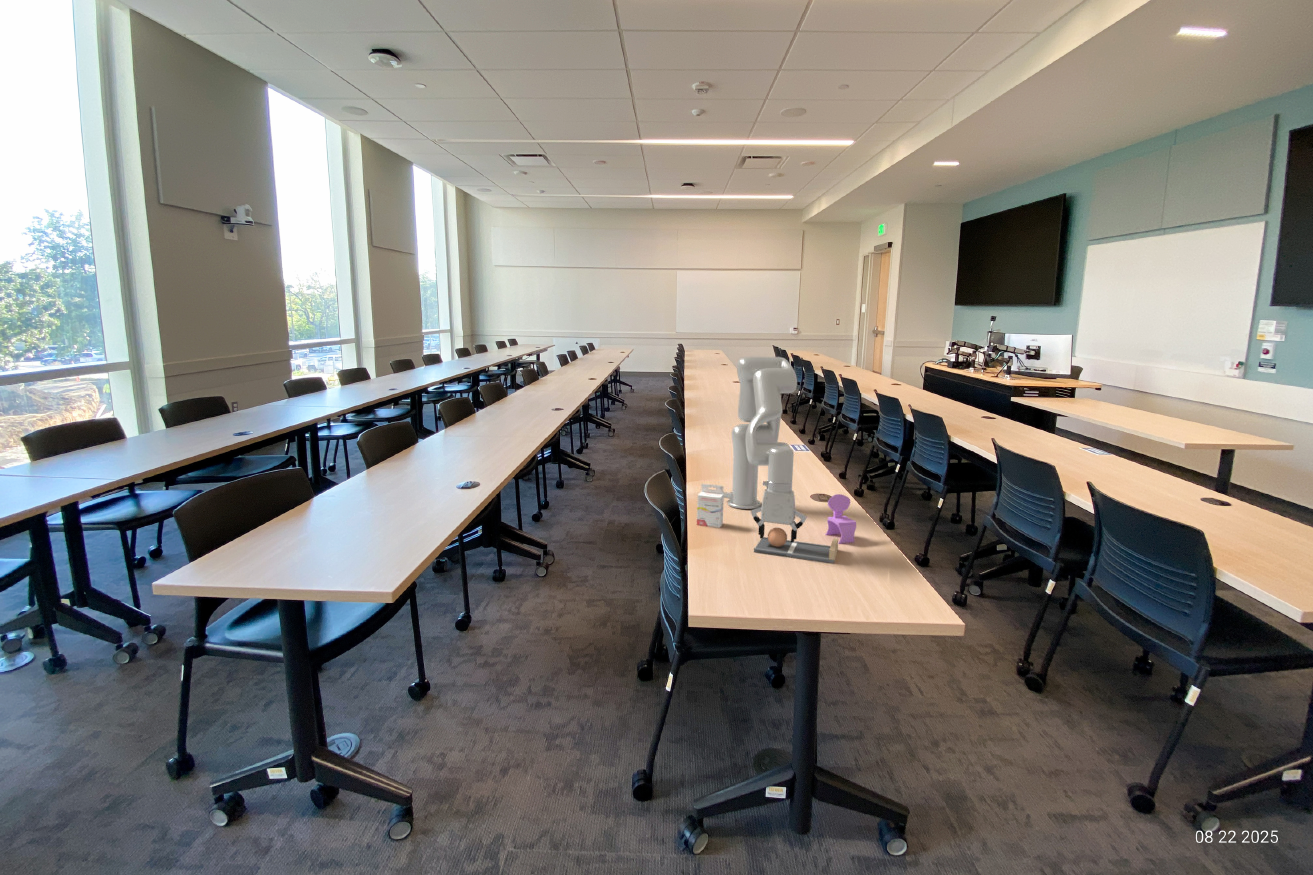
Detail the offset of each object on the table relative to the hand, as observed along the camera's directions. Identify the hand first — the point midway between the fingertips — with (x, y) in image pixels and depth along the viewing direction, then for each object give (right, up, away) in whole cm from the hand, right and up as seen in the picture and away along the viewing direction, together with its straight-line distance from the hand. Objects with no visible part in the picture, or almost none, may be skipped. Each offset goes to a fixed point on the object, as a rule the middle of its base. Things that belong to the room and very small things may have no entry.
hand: (777, 539), depth 189 cm
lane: (+6, -4, -2) cm, 7 cm away
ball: (0, -2, 0) cm, 2 cm away
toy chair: (+23, -2, +9) cm, 24 cm away
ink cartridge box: (-19, +1, +22) cm, 29 cm away
